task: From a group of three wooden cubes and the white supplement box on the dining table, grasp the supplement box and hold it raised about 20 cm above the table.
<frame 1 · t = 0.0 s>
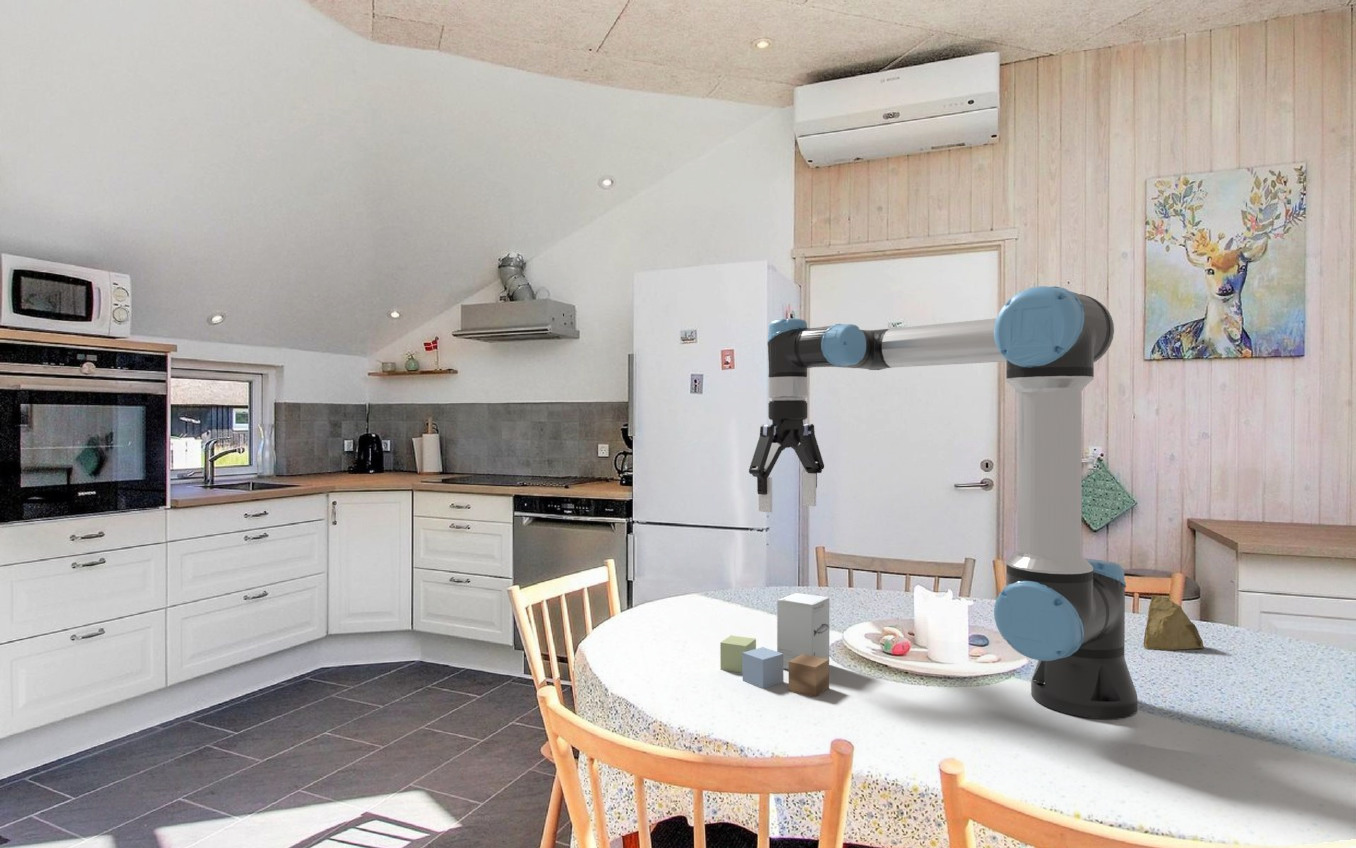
hand: (788, 508, 150), 28 cm above the table, fingers open, 13 cm apart
slate blue cube: (762, 681, 134), on the table
olive cube: (738, 667, 142), on the table
walnut cube: (808, 690, 130), on the table
rock: (1173, 649, 152), on the table
supplement box: (803, 667, 142), on the table
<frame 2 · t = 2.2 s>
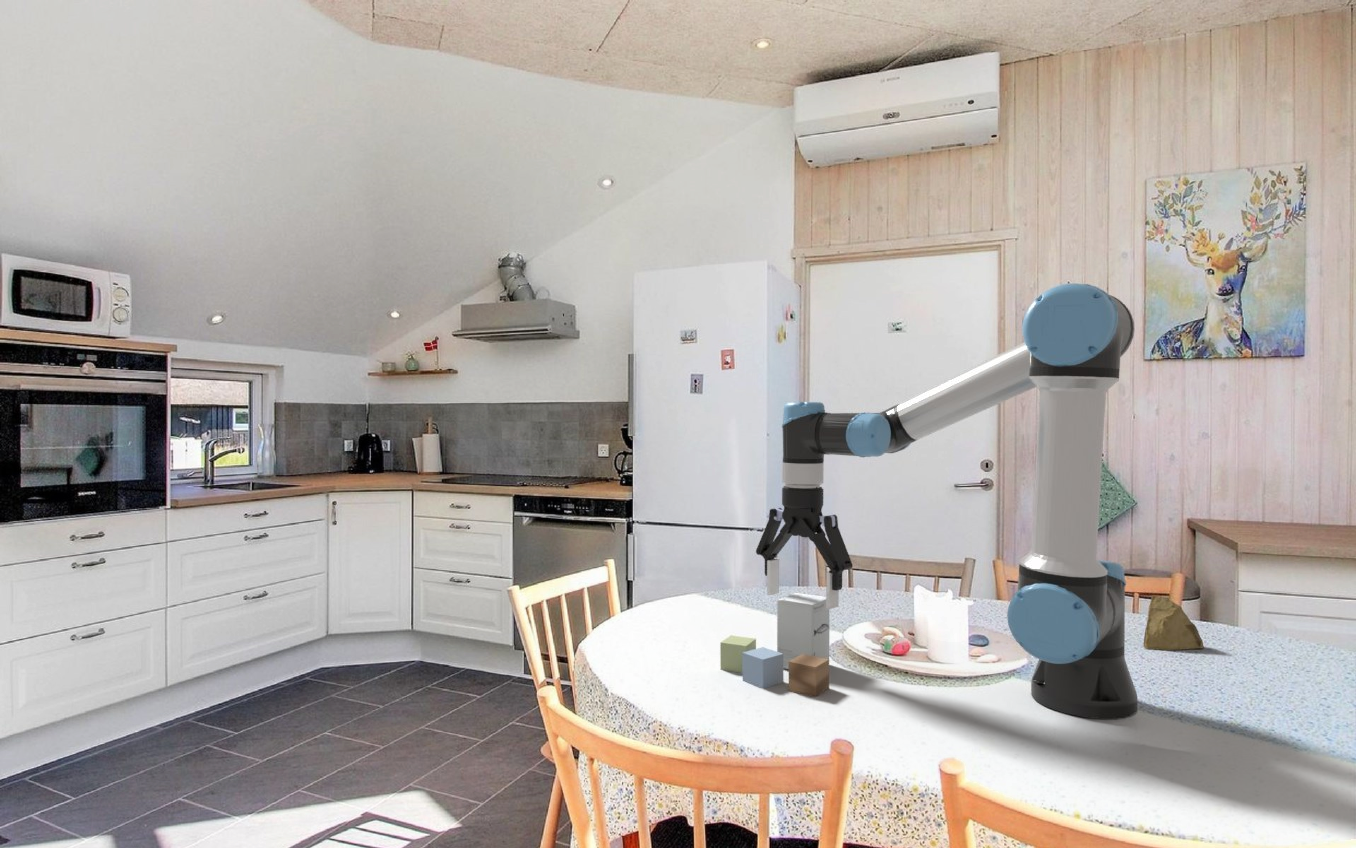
hand: (801, 600, 142), 12 cm above the table, fingers open, 13 cm apart
nothing on the table moved.
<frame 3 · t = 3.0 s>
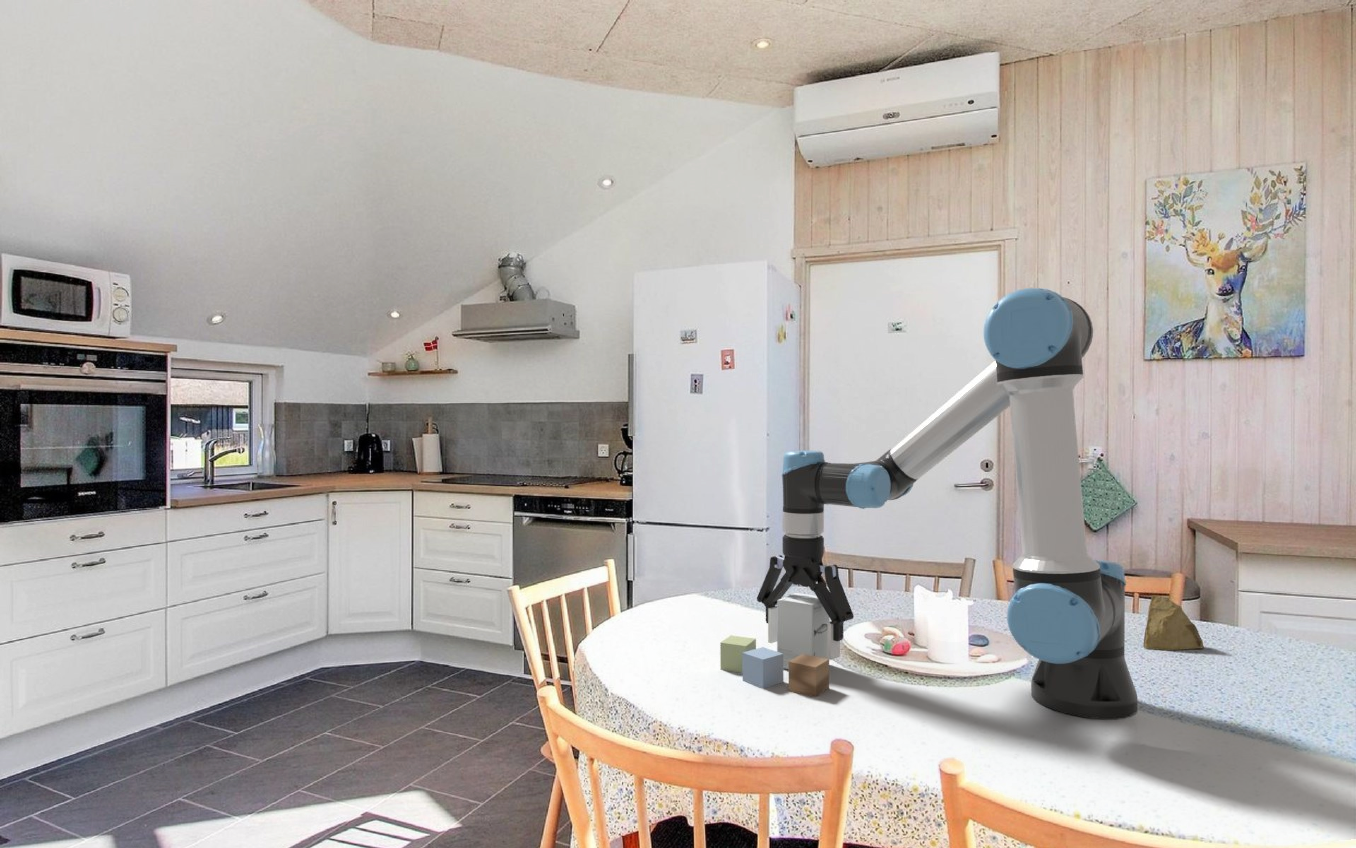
hand: (803, 649, 142), 3 cm above the table, fingers open, 13 cm apart
nothing on the table moved.
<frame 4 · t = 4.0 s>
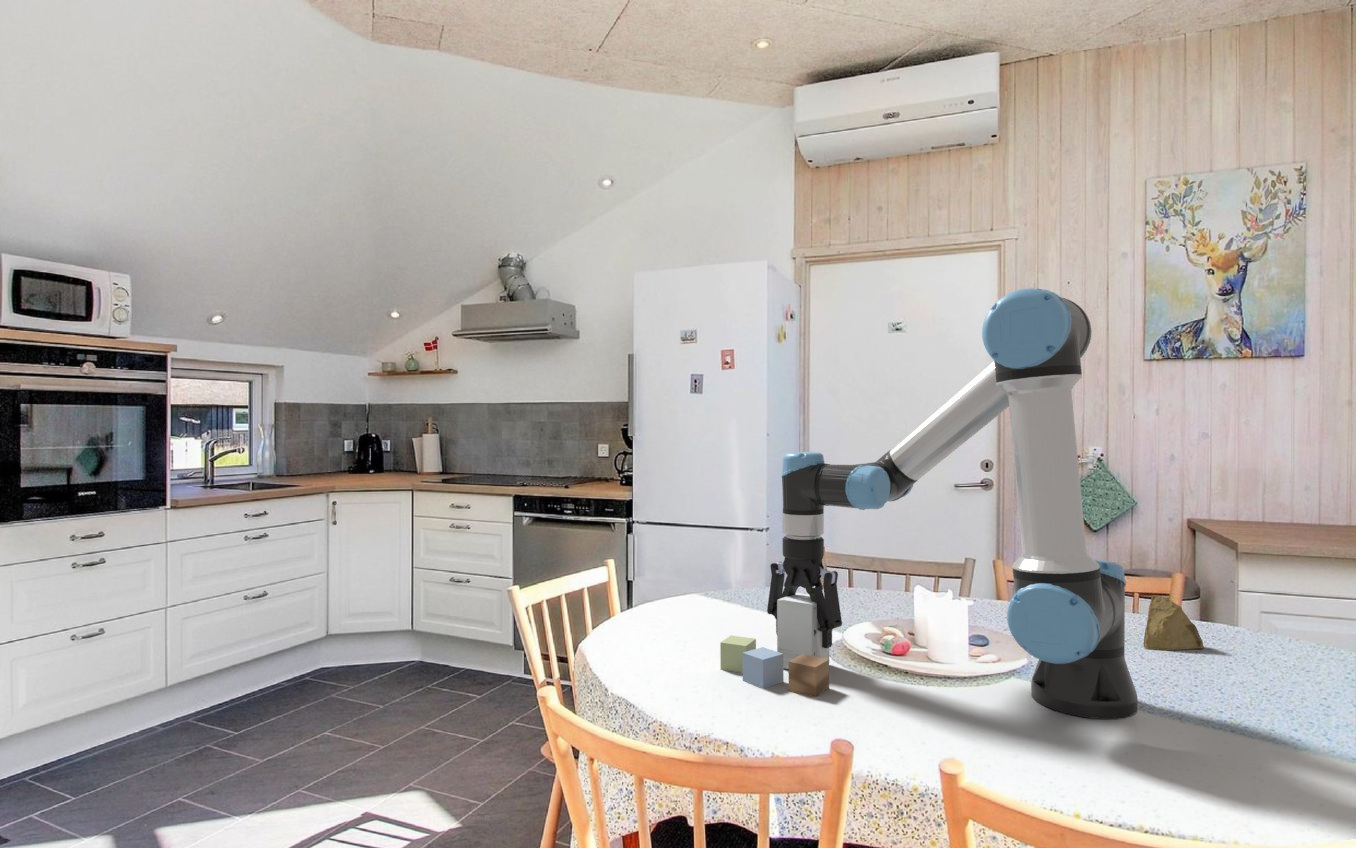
hand: (803, 659, 142), 1 cm above the table, fingers closed on supplement box, 8 cm apart
supplement box: (803, 667, 142), on the table, touching gripper
everything else where it was.
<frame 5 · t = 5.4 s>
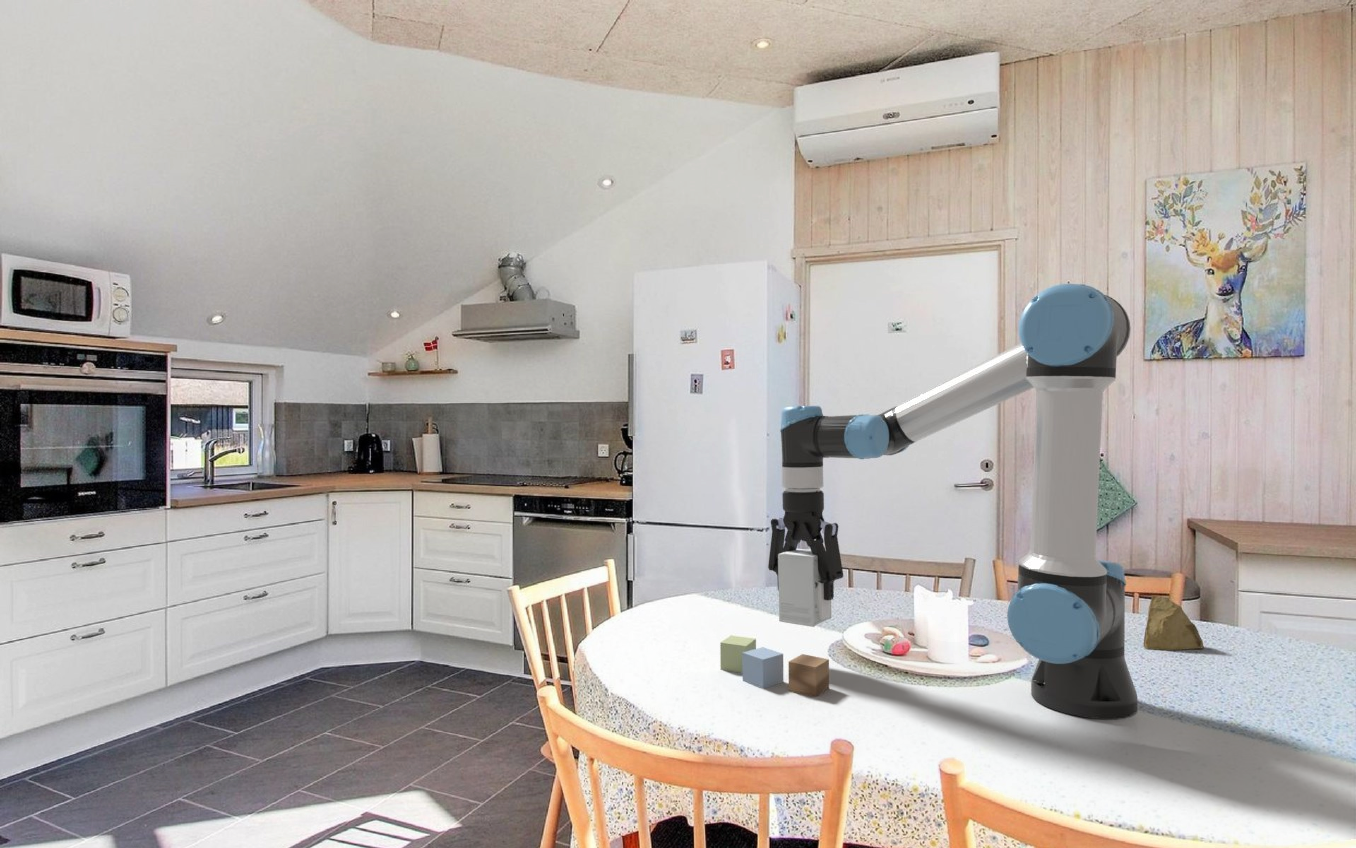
hand: (805, 613, 142), 10 cm above the table, fingers closed on supplement box, 8 cm apart
supplement box: (805, 621, 141), point 8 cm above the table, touching gripper
everything else where it was.
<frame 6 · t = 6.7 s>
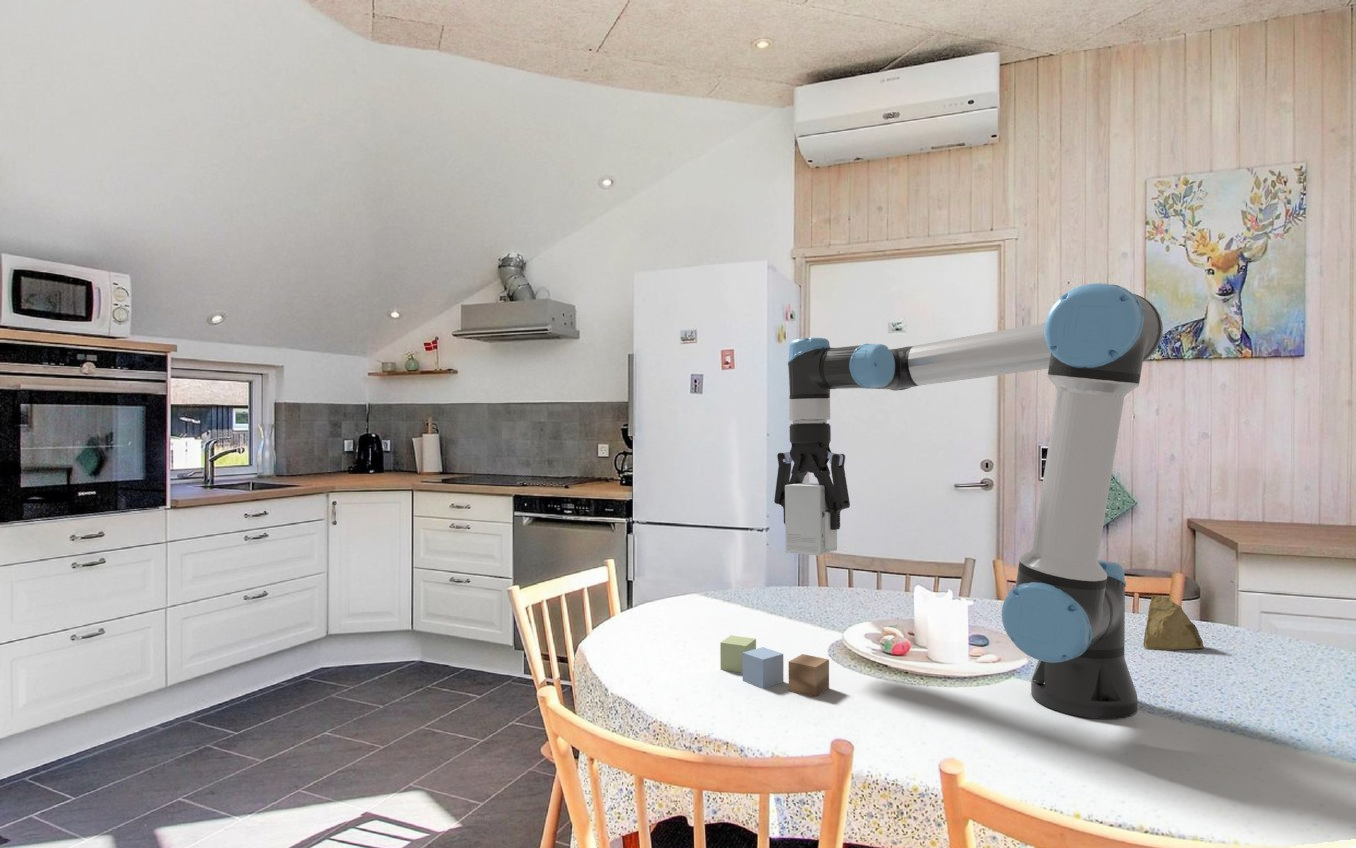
hand: (811, 544, 143), 22 cm above the table, fingers closed on supplement box, 8 cm apart
supplement box: (811, 552, 143), point 21 cm above the table, touching gripper
everything else where it was.
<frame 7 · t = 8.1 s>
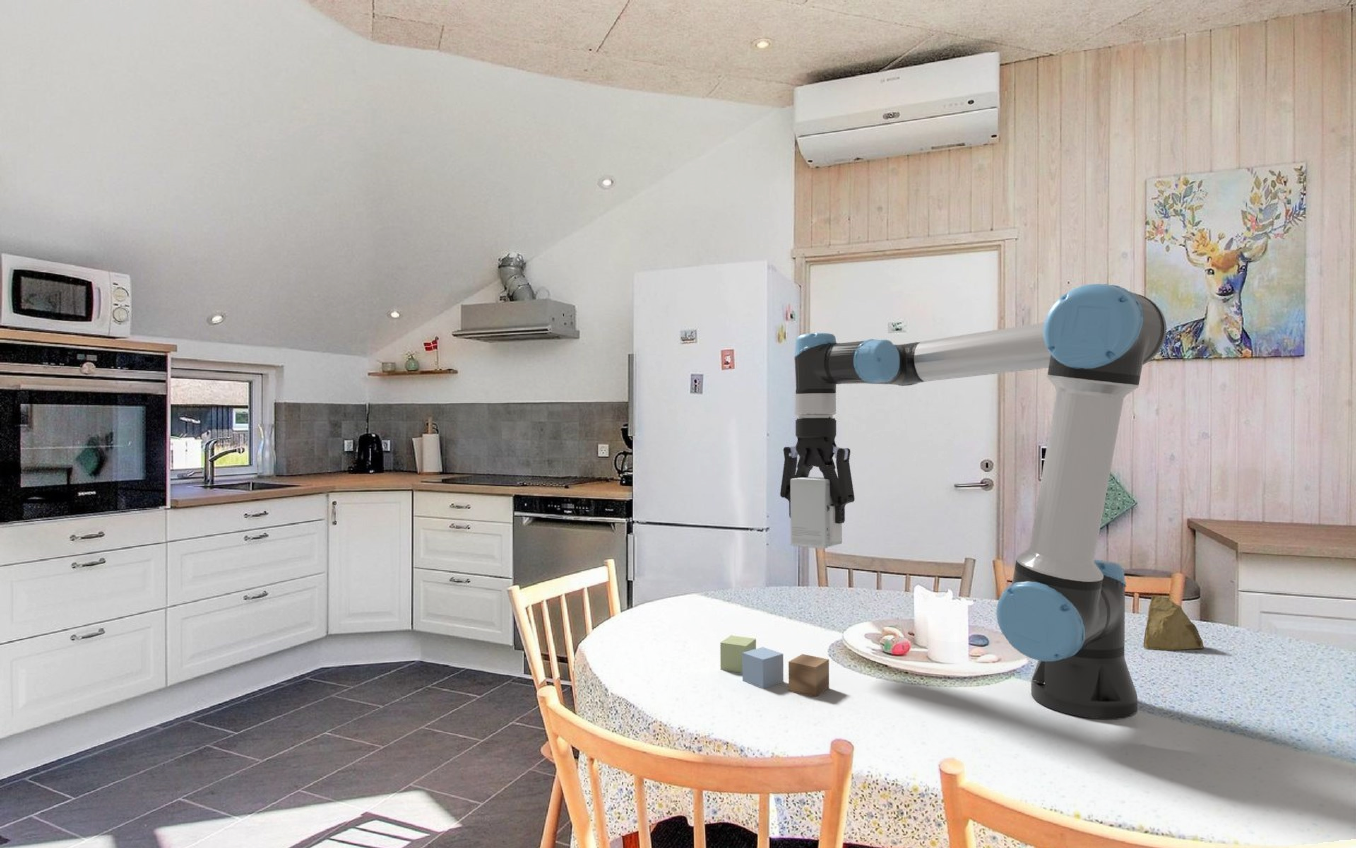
hand: (816, 538, 144), 23 cm above the table, fingers closed on supplement box, 8 cm apart
supplement box: (816, 546, 144), point 22 cm above the table, touching gripper
everything else where it was.
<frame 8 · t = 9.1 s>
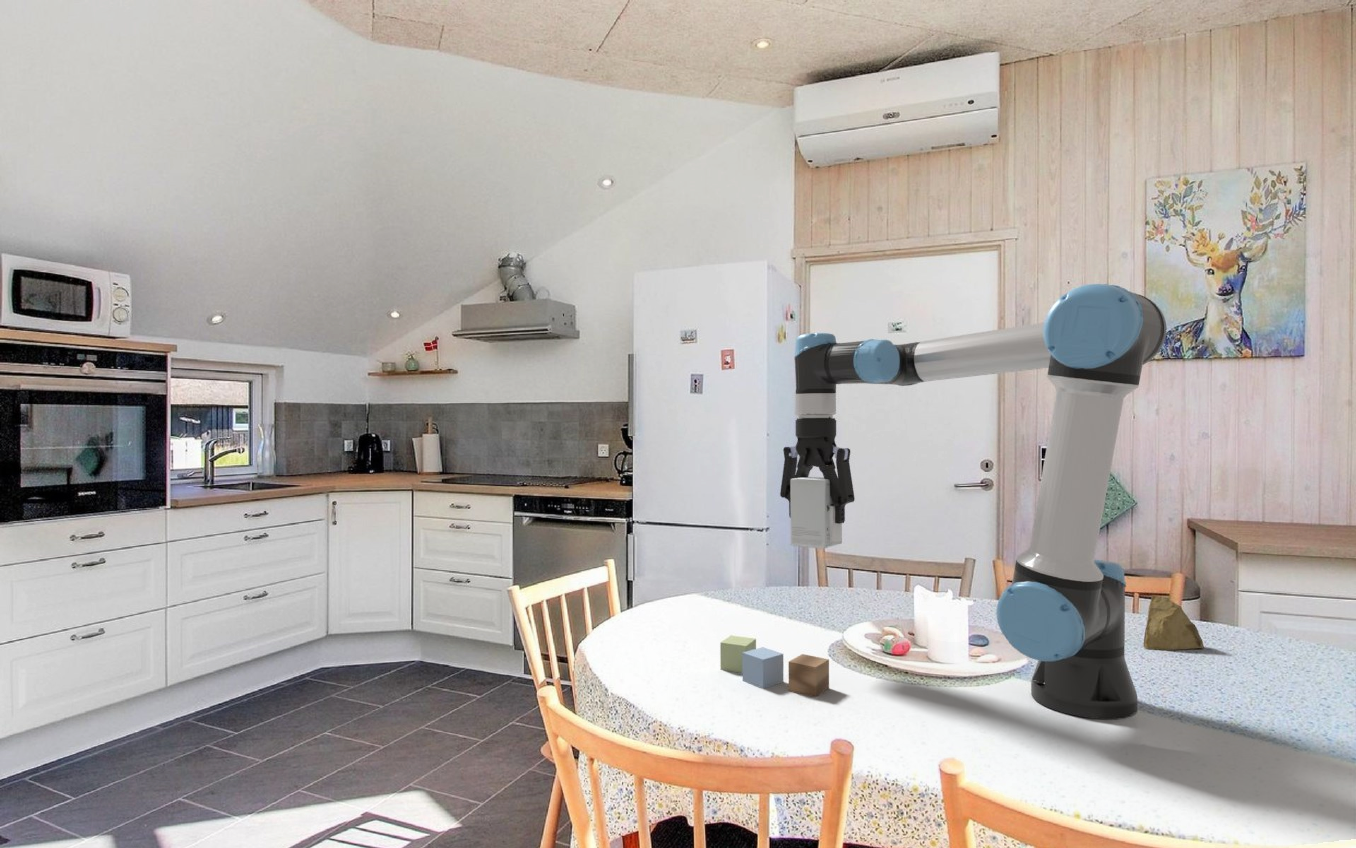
hand: (816, 538, 144), 23 cm above the table, fingers closed on supplement box, 8 cm apart
supplement box: (816, 546, 144), point 22 cm above the table, touching gripper
everything else where it was.
at the end: the gripper is holding supplement box; supplement box point 21.7 cm above the table; slate blue cube moved 0.1 cm from its start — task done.
